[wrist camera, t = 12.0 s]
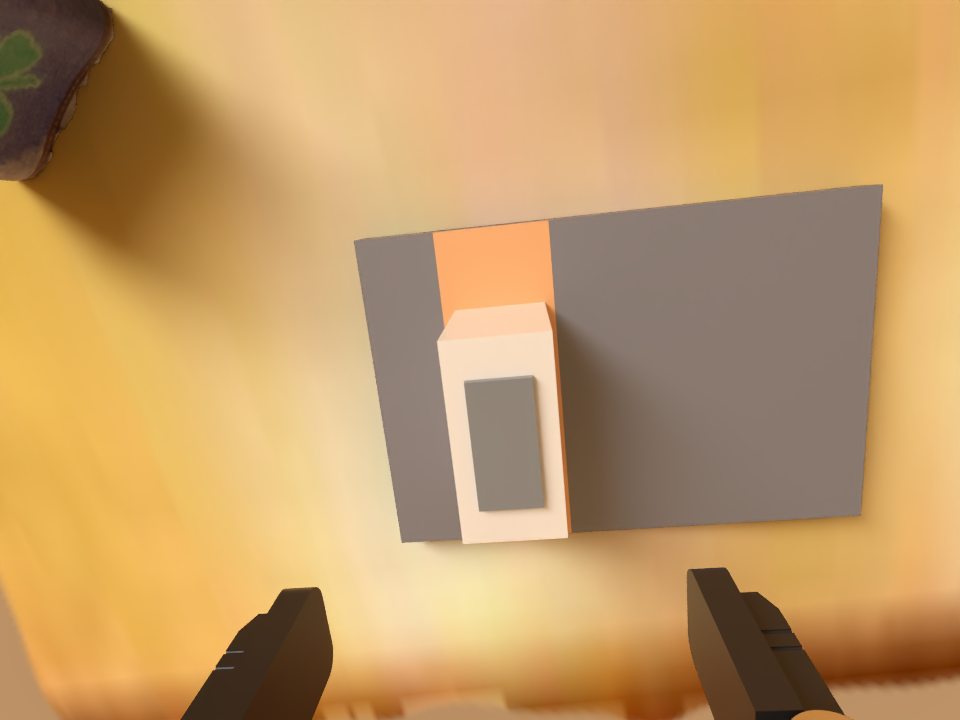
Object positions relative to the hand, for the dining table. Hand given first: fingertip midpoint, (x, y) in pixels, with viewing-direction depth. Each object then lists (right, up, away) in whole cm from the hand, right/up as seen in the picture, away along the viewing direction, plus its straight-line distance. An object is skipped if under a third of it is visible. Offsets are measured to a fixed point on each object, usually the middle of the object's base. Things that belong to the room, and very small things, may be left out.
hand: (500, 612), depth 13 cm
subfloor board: (+6, +5, +15) cm, 17 cm away
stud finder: (+1, +4, +14) cm, 15 cm away
